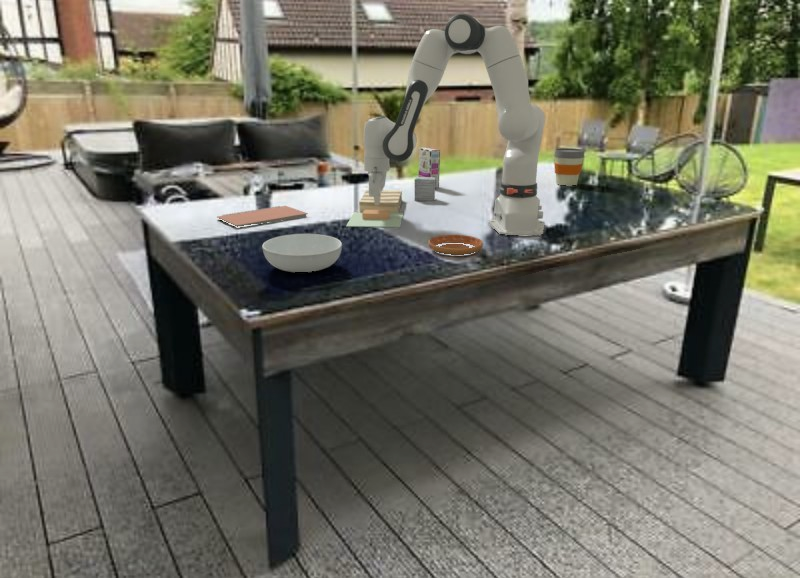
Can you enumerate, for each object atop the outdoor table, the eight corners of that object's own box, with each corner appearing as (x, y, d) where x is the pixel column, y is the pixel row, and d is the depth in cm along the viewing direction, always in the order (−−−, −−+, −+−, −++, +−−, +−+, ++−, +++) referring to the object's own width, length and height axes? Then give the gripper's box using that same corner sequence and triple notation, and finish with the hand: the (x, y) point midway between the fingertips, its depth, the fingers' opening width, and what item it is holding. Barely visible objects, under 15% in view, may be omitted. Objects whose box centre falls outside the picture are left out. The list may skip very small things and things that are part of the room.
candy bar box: (439, 188, 271) (440, 149, 266) (429, 189, 269) (430, 150, 264) (428, 184, 281) (428, 146, 275) (417, 185, 279) (418, 147, 273)
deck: (397, 213, 228) (397, 202, 227) (359, 213, 229) (359, 202, 228) (401, 200, 249) (401, 190, 247) (366, 200, 250) (366, 190, 248)
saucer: (457, 240, 195) (458, 231, 194) (494, 252, 183) (494, 242, 182) (417, 249, 186) (417, 239, 185) (452, 262, 174) (453, 252, 173)
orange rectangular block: (389, 209, 223) (389, 215, 224) (364, 209, 224) (364, 215, 225) (388, 213, 218) (388, 219, 218) (362, 213, 218) (362, 219, 219)
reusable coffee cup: (546, 182, 284) (549, 148, 278) (571, 181, 287) (574, 147, 282) (561, 187, 272) (564, 152, 267) (586, 186, 276) (590, 151, 271)
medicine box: (434, 198, 252) (435, 177, 249) (434, 201, 248) (434, 179, 245) (415, 198, 252) (415, 176, 249) (414, 200, 248) (414, 179, 245)
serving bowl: (319, 285, 157) (318, 258, 154) (248, 275, 164) (246, 249, 162) (355, 261, 175) (355, 237, 173) (290, 253, 182) (288, 230, 180)
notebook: (284, 209, 237) (284, 204, 236) (307, 218, 224) (307, 212, 223) (215, 220, 221) (215, 215, 220) (236, 230, 208) (236, 224, 208)
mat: (399, 227, 209) (399, 226, 209) (346, 226, 210) (346, 225, 210) (403, 213, 228) (403, 212, 228) (354, 212, 229) (354, 212, 229)
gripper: (382, 170, 208) (383, 211, 213) (388, 160, 227) (388, 198, 232) (363, 170, 208) (364, 211, 213) (371, 160, 227) (371, 198, 232)
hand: (377, 204), depth 222 cm, fingers closed
